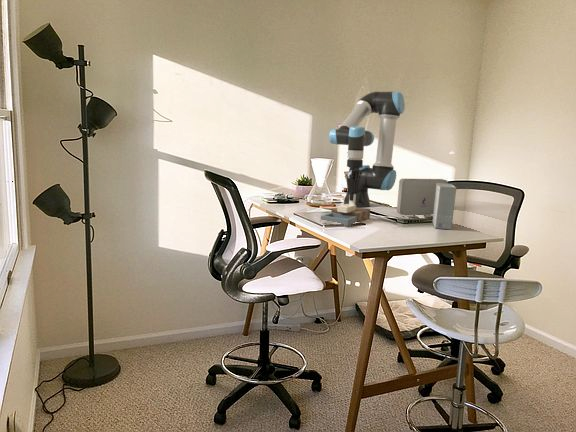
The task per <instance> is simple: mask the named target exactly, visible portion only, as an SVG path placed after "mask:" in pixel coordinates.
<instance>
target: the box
mask: <svg viewBox="0 0 576 432" xmlns="http://www.w3.org/2000/svg"><path fill="white" fill-rule="evenodd" d="M321 219H322V220H327V221H332V222H337V223H341V224H344V226H345V227H344V228H350V227H351V226H350V225H351V224H353V223H355V222H357V217H356V216H349V215H343V214H337V213H331V212H329V213H325V214H322V215H320V220H321ZM349 226H350V227H349Z"/></svg>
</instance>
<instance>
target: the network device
mask: <svg viewBox="0 0 576 432" xmlns="http://www.w3.org/2000/svg"><path fill="white" fill-rule="evenodd" d="M436 183H443V184H449V183H448V180H447V179H442V178H401V179H399V181H398V194H397V200H396V201H397V205H396V212H397V213H398V214H399V215H401V216H402V215H429V216H428V217H433V211H434V202H435V193H436Z"/></svg>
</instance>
